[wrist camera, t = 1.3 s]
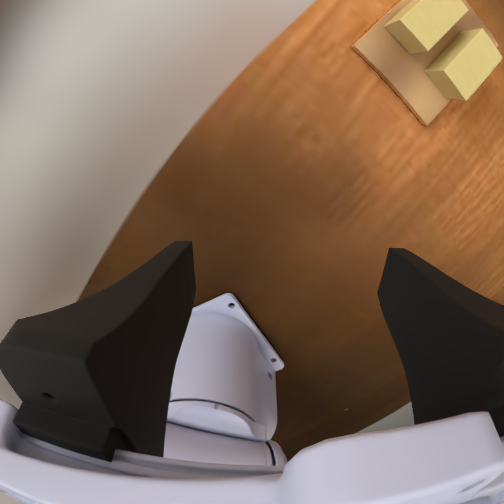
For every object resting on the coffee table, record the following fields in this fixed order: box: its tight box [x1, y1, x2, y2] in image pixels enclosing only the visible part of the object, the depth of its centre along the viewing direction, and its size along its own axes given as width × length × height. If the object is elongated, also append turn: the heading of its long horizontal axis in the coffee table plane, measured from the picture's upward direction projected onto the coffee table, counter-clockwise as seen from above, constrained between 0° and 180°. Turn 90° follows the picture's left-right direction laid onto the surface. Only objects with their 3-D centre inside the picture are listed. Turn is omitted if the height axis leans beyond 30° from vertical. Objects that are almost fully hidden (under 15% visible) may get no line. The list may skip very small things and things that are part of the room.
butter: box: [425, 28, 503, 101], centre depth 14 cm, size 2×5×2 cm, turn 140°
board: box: [351, 0, 499, 126], centre depth 15 cm, size 7×10×1 cm
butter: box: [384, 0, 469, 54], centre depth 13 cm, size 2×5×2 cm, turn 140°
